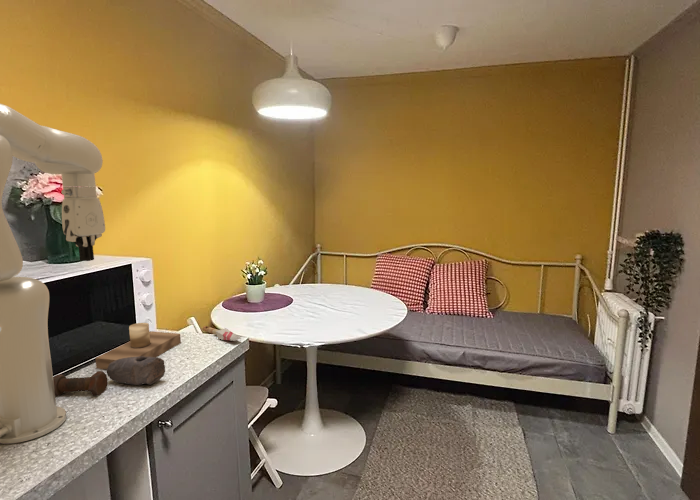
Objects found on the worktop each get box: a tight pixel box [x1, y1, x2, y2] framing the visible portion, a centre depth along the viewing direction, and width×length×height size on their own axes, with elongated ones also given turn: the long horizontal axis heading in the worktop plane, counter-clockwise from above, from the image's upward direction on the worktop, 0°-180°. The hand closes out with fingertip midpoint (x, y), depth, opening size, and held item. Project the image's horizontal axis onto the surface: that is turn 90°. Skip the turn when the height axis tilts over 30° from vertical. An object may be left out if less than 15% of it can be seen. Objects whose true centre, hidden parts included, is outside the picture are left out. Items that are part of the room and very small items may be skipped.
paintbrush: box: [202, 325, 242, 342], centre depth 140 cm, size 4×3×20 cm
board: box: [95, 330, 182, 371], centre depth 126 cm, size 22×11×3 cm, turn 167°
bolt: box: [53, 370, 109, 397], centre depth 102 cm, size 6×5×15 cm
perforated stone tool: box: [106, 356, 166, 386], centre depth 108 cm, size 15×5×7 cm, turn 81°
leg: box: [128, 322, 150, 348], centre depth 125 cm, size 5×5×8 cm
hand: (87, 260), depth 118 cm, fingers closed
